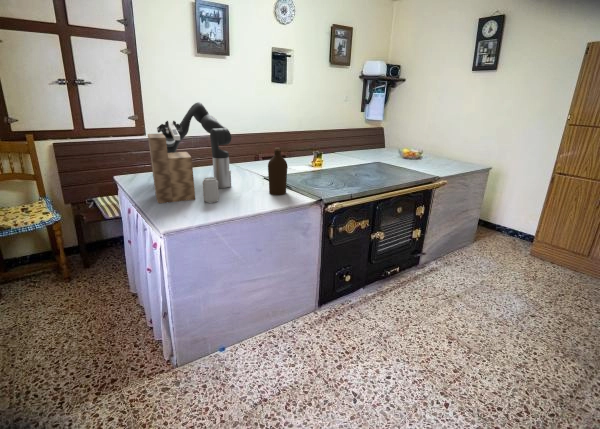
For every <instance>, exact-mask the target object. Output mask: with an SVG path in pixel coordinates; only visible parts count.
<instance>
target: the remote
mask: <svg viewBox="0 0 600 429" xmlns="http://www.w3.org/2000/svg"><path fill="white" fill-rule="evenodd" d="M168 123H169V125H168V128H169V130H170V132H171V134H172V136H173V138H174V140H180V135H179V133H178V131H177V130H176V128H175V126H174V124H173V121H168Z"/></svg>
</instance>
